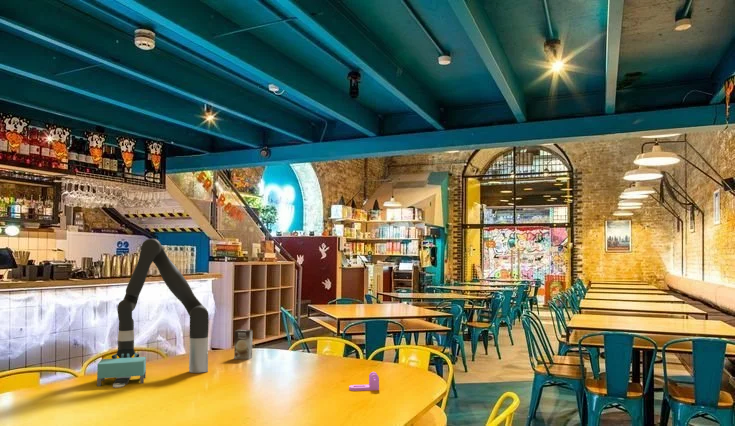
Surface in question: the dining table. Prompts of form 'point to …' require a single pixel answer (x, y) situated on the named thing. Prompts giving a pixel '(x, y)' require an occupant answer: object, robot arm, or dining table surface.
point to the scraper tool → (122, 380)
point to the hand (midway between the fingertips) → (125, 374)
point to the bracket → (371, 386)
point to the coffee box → (243, 344)
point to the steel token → (118, 385)
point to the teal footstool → (121, 368)
